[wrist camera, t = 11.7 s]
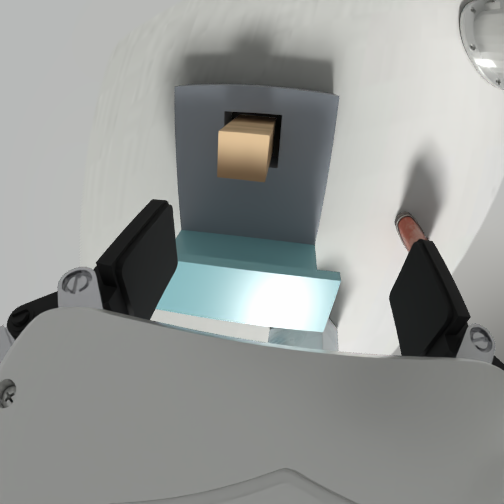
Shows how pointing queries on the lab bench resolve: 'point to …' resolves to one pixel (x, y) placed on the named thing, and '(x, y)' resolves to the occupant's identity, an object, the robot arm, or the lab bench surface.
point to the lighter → (408, 229)
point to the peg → (246, 148)
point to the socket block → (252, 211)
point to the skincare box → (306, 337)
